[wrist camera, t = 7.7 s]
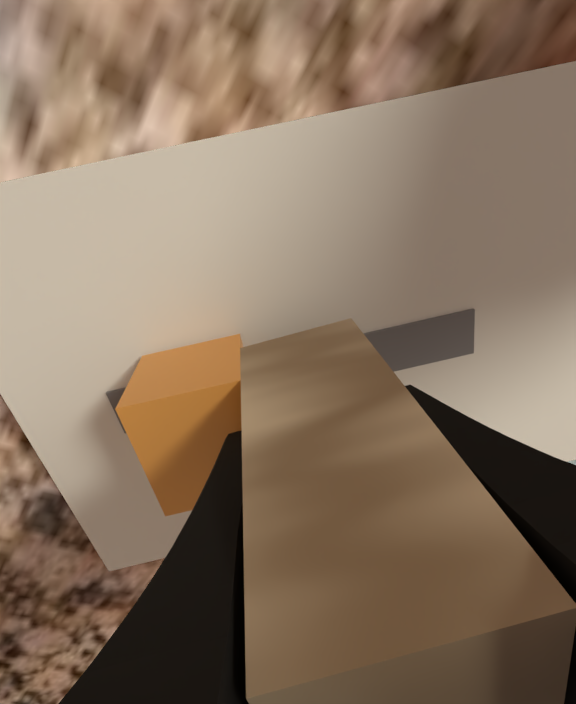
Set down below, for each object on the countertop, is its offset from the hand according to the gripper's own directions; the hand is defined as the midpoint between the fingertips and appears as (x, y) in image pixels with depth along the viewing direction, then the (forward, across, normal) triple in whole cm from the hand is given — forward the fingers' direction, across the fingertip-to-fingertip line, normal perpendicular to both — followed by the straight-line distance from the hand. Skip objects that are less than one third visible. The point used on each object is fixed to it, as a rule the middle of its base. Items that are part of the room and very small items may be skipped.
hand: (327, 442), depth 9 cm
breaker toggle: (+4, +3, 0) cm, 5 cm away
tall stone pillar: (+2, 0, 0) cm, 3 cm away
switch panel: (+5, -1, 0) cm, 5 cm away
